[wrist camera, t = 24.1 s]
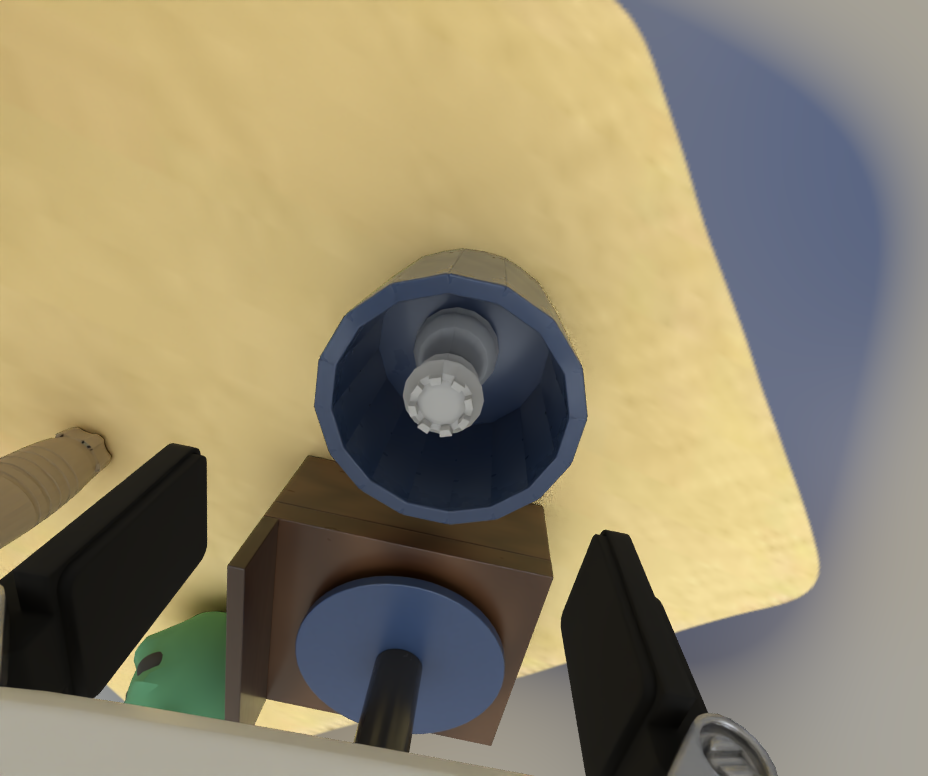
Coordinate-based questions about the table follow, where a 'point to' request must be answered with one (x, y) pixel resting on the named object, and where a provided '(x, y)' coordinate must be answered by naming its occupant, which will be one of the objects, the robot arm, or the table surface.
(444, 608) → the lid
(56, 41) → the table surface
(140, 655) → the alien toy
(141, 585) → the robot arm
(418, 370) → the rook chess piece
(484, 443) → the pot
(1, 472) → the handle
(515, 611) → the shelf
